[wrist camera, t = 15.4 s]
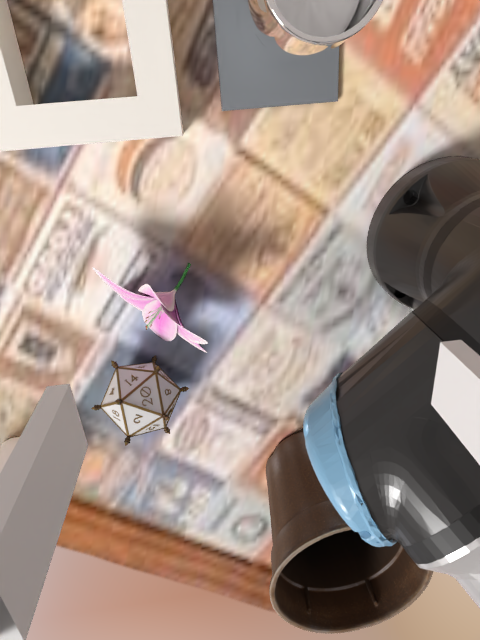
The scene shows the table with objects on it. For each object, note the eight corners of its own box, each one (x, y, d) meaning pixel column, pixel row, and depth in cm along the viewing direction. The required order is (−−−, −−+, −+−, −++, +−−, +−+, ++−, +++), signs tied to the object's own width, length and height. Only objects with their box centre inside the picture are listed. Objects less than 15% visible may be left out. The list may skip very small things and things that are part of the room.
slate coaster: (339, -78, 32) (342, -81, 32) (335, 101, 38) (337, 101, 37) (206, -70, 32) (207, -73, 31) (221, 110, 37) (222, 110, 37)
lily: (100, 227, 42) (53, 299, 36) (211, 211, 37) (178, 290, 31) (154, 310, 50) (123, 380, 44) (250, 305, 46) (230, 381, 40)
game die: (133, 352, 51) (81, 349, 41) (201, 359, 49) (163, 358, 39) (124, 429, 50) (70, 444, 41) (192, 439, 48) (152, 458, 38)
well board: (156, -93, 31) (151, -120, 28) (183, 133, 38) (182, 135, 34) (-58, -81, 30) (-92, -106, 27) (8, 148, 37) (-12, 152, 33)
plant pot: (348, 392, 52) (407, 501, 37) (389, 476, 59) (453, 596, 44) (228, 447, 54) (240, 571, 39) (282, 522, 61) (309, 651, 46)
